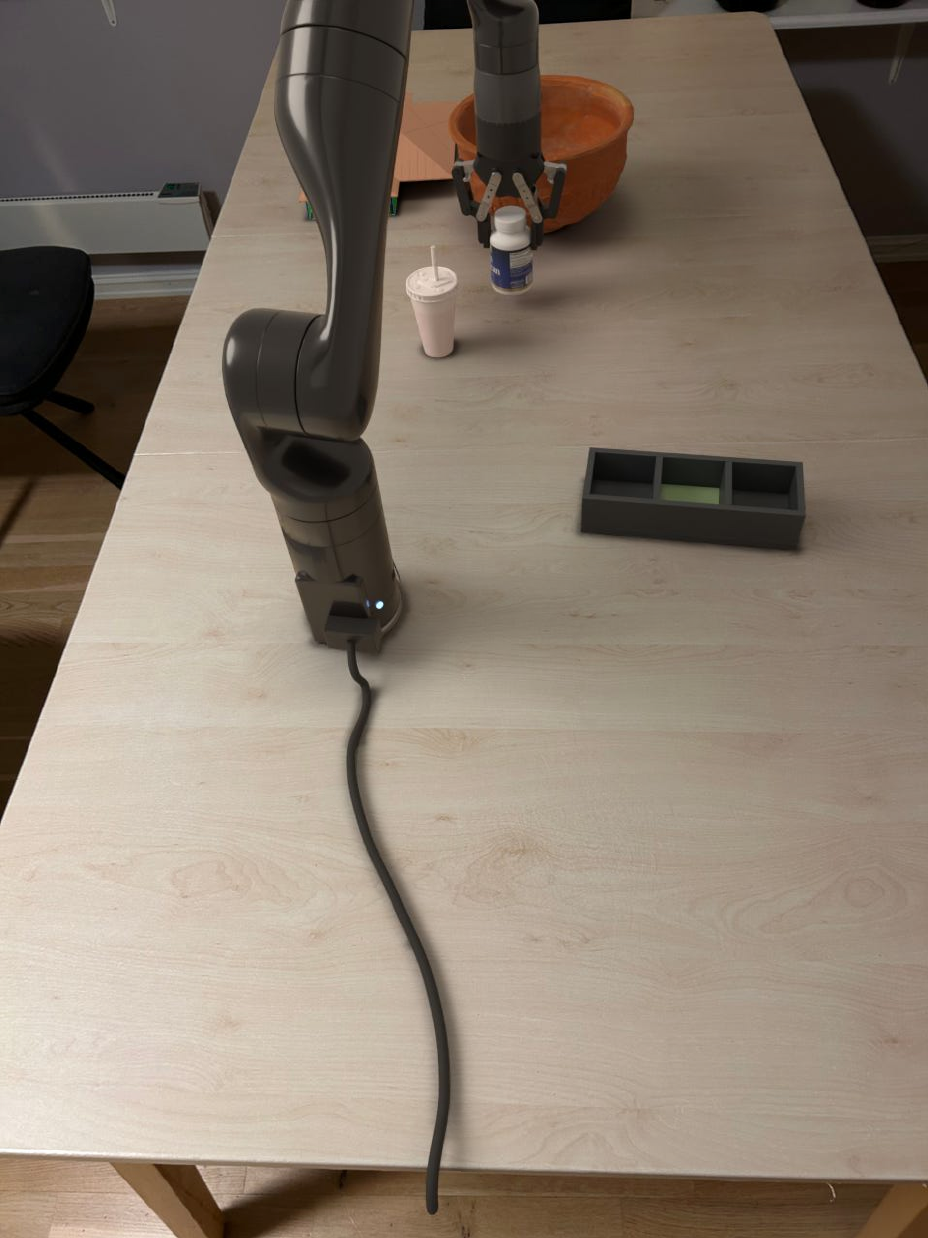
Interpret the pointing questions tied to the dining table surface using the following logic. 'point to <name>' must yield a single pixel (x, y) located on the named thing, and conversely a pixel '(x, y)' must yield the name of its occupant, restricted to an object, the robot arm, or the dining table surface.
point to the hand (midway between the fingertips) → (511, 245)
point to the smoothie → (434, 306)
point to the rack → (694, 498)
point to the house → (421, 145)
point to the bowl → (564, 144)
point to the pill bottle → (511, 252)
